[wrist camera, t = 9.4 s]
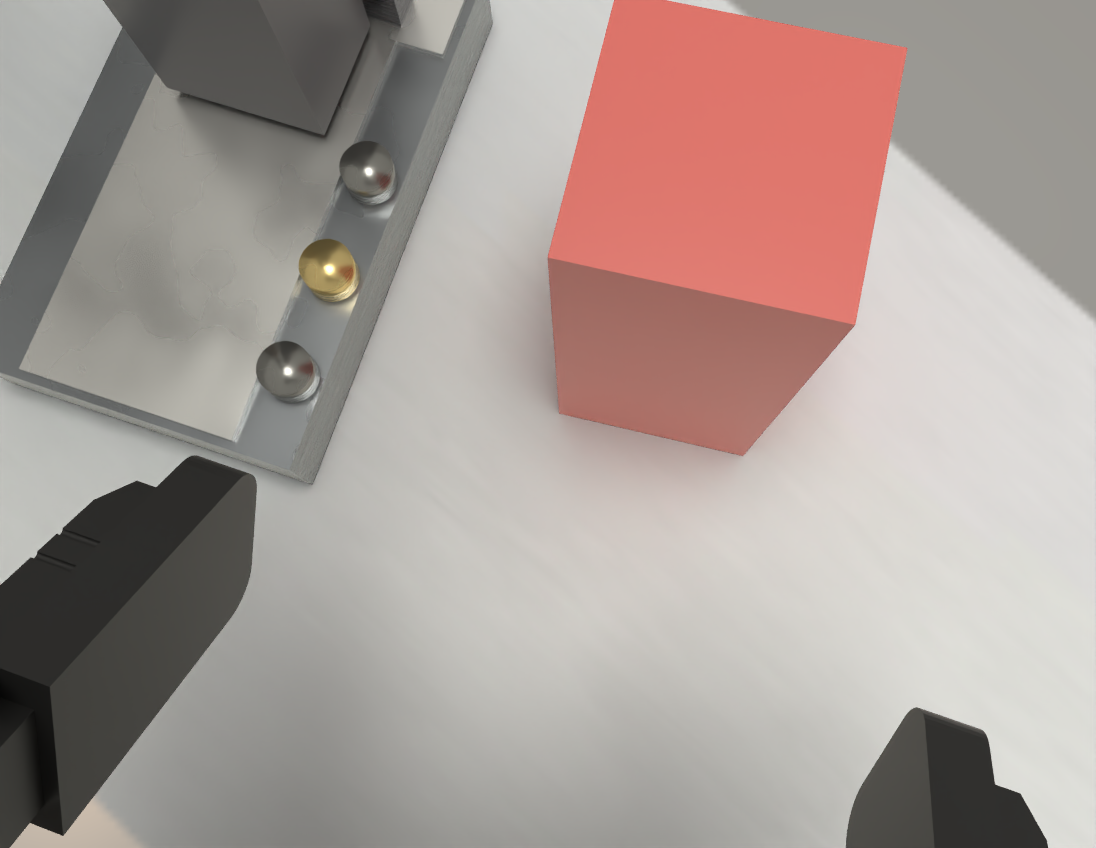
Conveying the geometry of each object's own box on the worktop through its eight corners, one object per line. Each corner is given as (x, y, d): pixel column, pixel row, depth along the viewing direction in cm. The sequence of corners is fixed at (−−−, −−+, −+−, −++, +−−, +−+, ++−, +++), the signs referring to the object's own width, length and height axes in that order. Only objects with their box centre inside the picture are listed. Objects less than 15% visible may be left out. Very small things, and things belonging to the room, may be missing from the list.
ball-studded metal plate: (312, 484, 24) (245, 443, 19) (12, 383, 25) (-125, 318, 20) (492, 22, 27) (474, -117, 22) (215, -57, 28) (137, -209, 23)
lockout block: (559, 413, 25) (548, 257, 15) (601, 243, 25) (616, -10, 16) (742, 455, 24) (855, 324, 14) (779, 281, 25) (908, 47, 15)
